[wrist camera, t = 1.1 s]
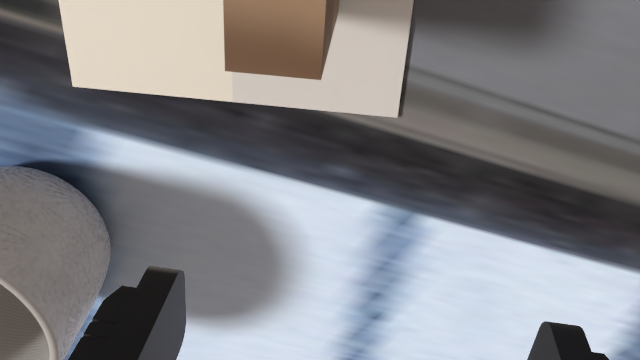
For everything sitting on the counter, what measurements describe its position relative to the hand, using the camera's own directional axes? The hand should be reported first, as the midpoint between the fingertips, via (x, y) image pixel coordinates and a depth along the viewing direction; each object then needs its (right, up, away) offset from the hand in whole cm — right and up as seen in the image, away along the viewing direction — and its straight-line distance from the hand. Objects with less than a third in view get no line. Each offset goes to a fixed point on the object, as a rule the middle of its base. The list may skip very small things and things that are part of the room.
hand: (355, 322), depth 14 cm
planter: (-21, 0, +30) cm, 36 cm away
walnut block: (-2, +14, +19) cm, 24 cm away
